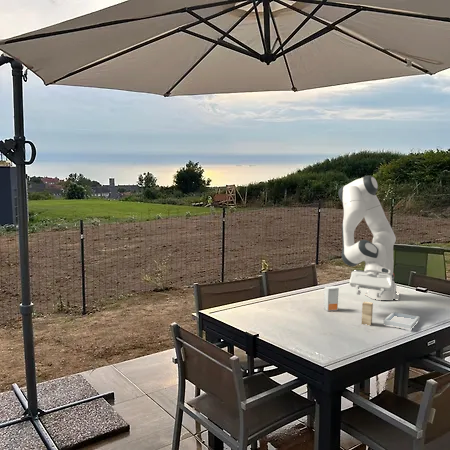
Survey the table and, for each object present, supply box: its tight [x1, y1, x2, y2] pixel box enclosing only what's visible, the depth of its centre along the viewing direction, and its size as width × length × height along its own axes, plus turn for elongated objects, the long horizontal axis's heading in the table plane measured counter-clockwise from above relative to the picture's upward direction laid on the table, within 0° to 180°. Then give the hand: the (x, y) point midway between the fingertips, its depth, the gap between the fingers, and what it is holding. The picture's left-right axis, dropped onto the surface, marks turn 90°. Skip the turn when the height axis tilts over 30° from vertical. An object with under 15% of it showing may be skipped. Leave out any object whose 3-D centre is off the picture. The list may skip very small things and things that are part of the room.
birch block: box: [361, 301, 374, 326], centre depth 196 cm, size 4×4×10 cm
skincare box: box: [323, 285, 339, 312], centre depth 217 cm, size 6×4×12 cm
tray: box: [383, 311, 420, 329], centre depth 196 cm, size 16×12×3 cm
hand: (368, 295), depth 202 cm, fingers open, 8 cm apart
